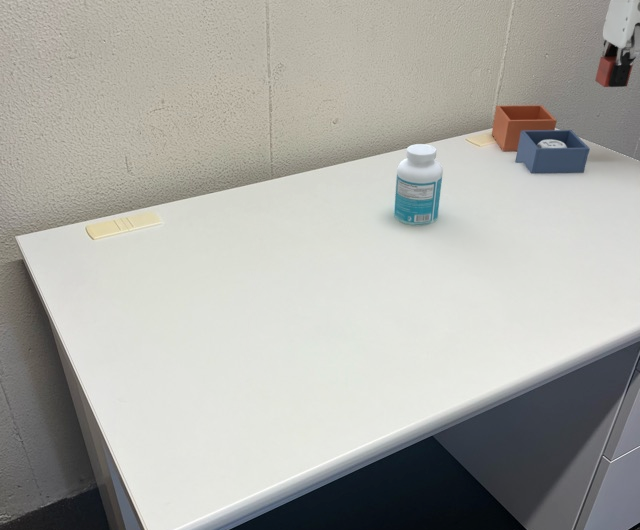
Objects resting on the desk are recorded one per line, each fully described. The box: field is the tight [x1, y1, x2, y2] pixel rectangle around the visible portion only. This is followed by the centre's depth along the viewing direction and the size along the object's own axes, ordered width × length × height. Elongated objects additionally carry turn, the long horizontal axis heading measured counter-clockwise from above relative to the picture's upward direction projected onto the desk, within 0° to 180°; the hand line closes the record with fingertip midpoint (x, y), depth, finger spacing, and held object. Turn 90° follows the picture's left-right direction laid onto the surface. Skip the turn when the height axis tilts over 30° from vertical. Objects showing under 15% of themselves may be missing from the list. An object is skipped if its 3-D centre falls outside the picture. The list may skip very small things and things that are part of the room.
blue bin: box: [514, 129, 591, 174], centre depth 121 cm, size 10×10×7 cm
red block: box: [594, 56, 634, 88], centre depth 118 cm, size 4×4×4 cm
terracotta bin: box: [491, 104, 558, 152], centre depth 134 cm, size 10×10×7 cm
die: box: [536, 139, 567, 148], centre depth 121 cm, size 5×5×5 cm
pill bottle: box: [393, 143, 444, 227], centre depth 101 cm, size 8×7×14 cm
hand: (611, 81), depth 119 cm, fingers closed on red block, 4 cm apart
